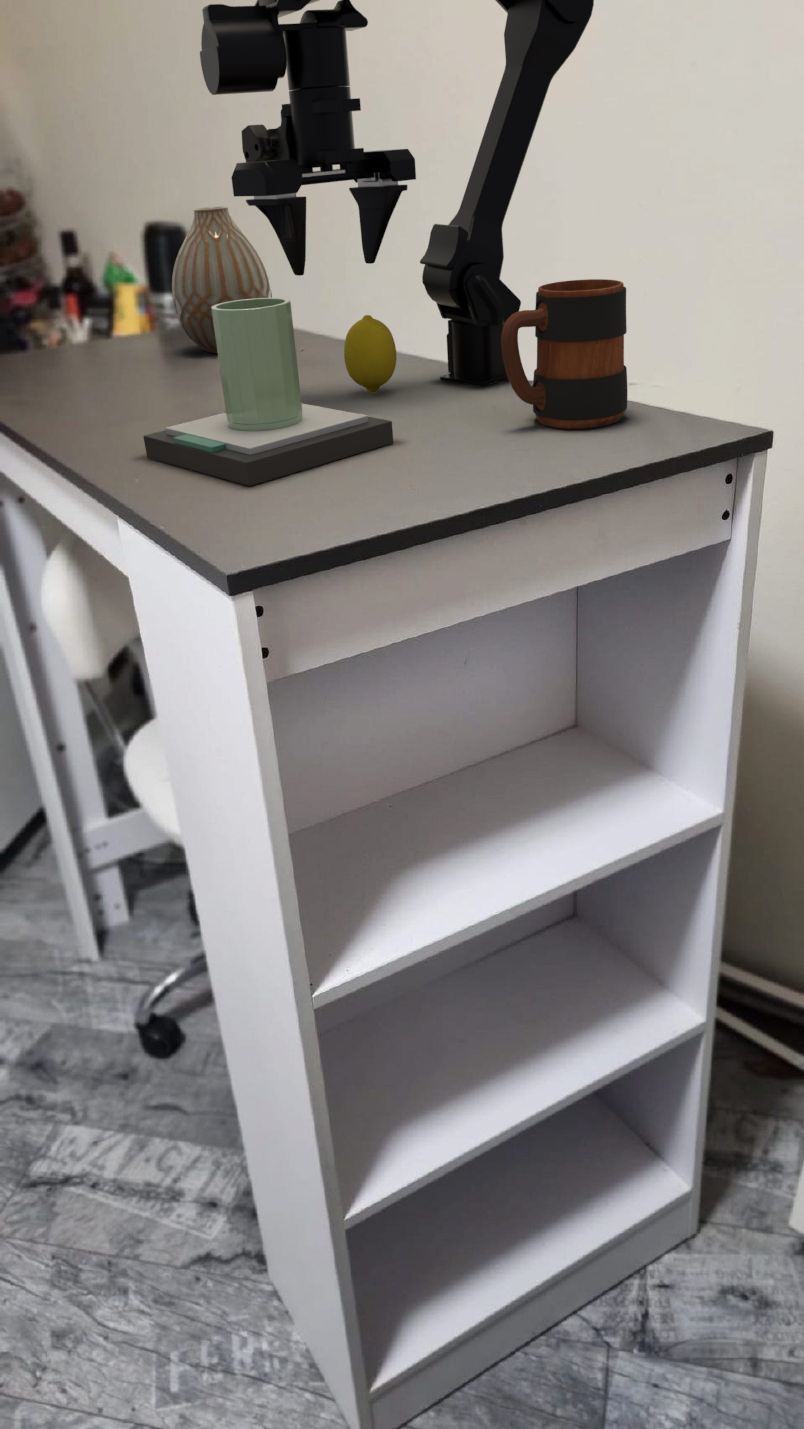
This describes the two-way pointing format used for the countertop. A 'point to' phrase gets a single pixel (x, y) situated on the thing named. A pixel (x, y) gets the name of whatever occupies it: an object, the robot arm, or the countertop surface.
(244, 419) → the cup
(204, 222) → the vase
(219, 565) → the countertop surface
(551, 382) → the mug
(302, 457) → the scale
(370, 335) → the lemon
